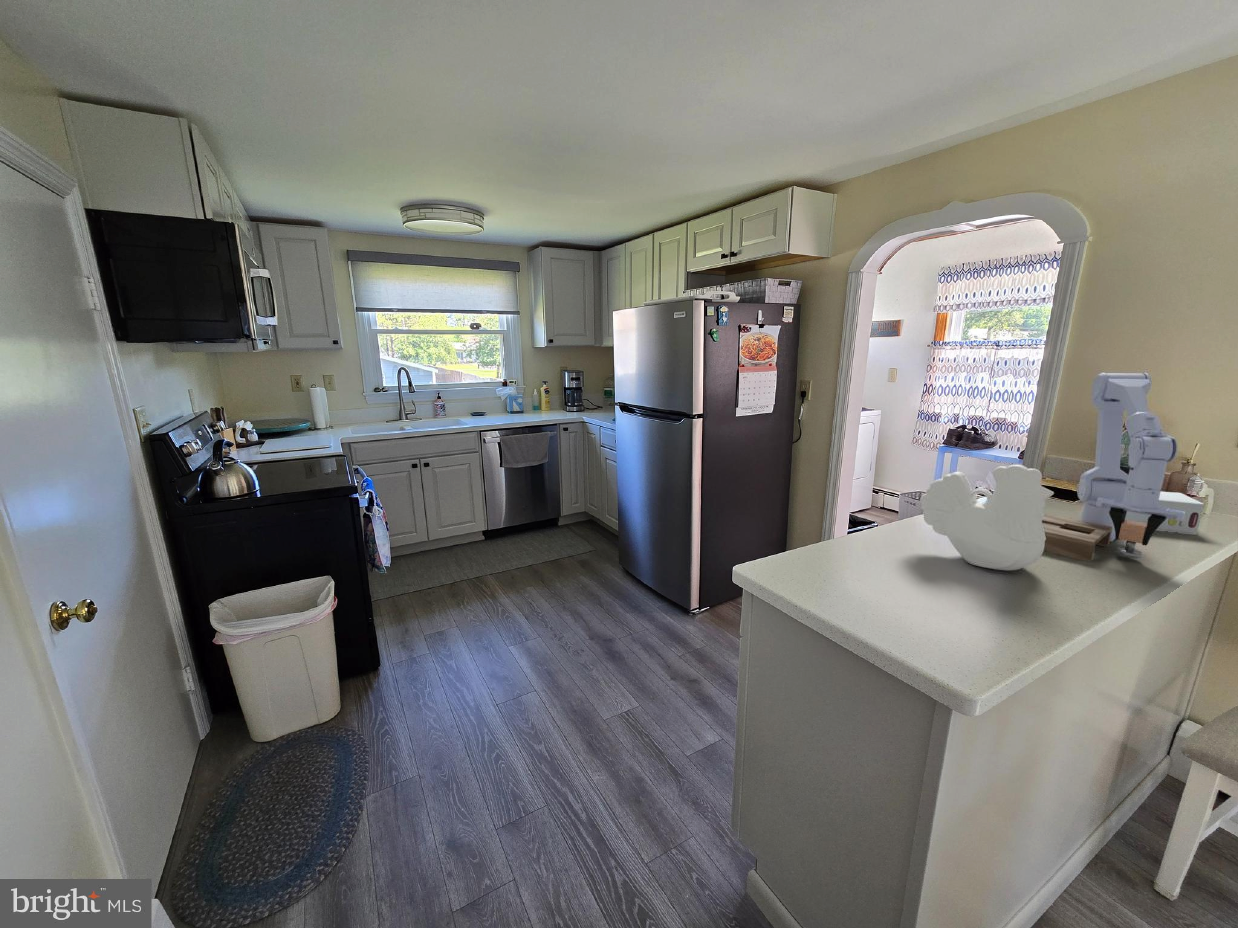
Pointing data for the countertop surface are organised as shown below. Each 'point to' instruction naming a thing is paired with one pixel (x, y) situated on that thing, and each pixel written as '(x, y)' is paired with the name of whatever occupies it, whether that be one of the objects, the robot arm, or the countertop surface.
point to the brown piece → (1131, 538)
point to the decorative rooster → (991, 517)
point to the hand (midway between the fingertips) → (1131, 541)
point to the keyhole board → (1074, 536)
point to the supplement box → (1177, 503)
